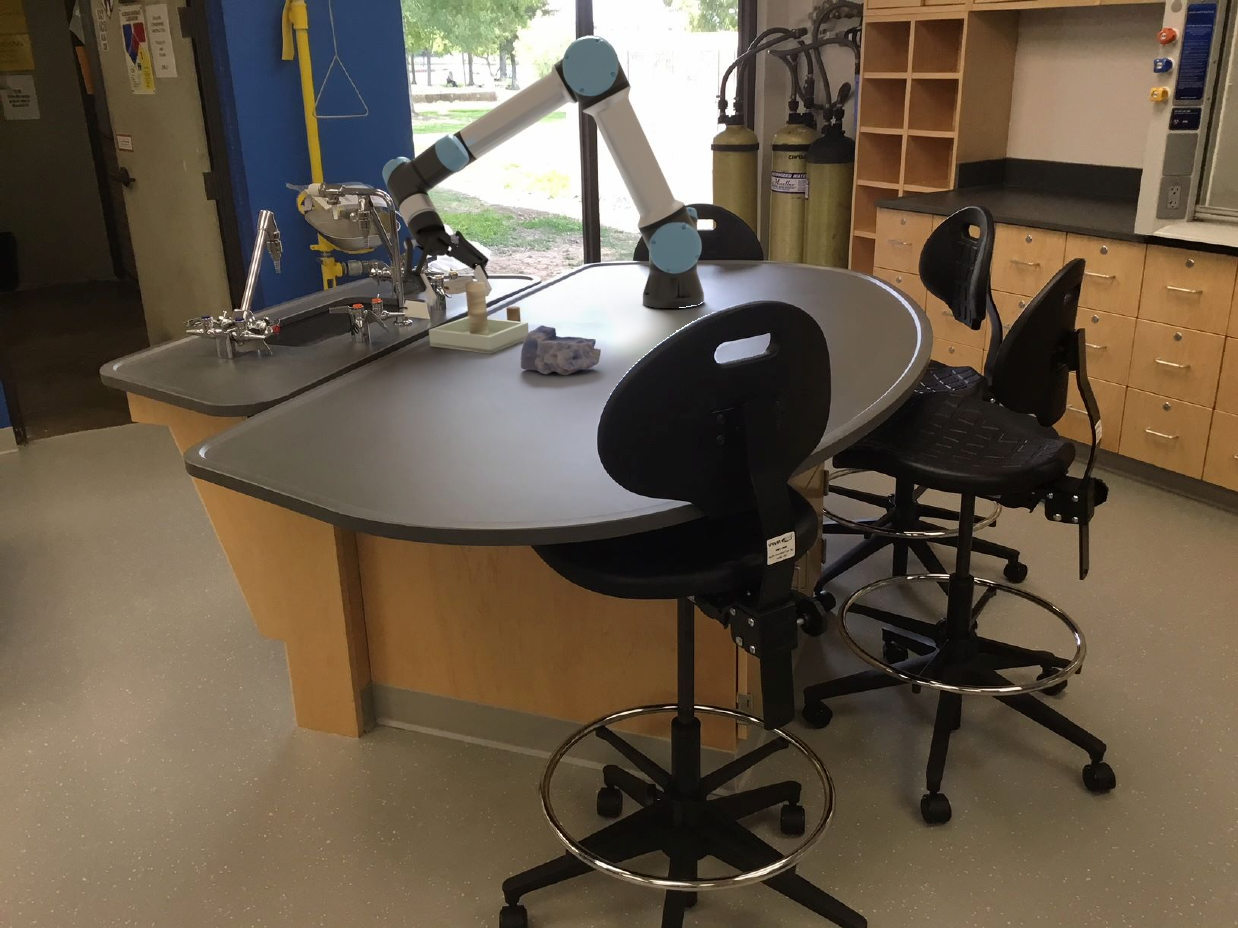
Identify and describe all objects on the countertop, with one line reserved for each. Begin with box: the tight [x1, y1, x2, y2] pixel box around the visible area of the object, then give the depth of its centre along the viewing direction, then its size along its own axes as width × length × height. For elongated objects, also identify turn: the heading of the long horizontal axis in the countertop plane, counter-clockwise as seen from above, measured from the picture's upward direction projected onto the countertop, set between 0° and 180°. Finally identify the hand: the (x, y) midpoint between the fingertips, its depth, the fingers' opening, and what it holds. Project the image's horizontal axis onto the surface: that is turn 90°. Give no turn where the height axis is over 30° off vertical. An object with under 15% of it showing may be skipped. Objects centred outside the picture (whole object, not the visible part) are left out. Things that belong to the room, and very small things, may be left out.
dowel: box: [464, 280, 489, 336], centre depth 216 cm, size 4×4×12 cm
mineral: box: [520, 324, 602, 376], centre depth 194 cm, size 14×10×10 cm
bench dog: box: [505, 305, 522, 322], centre depth 227 cm, size 3×3×5 cm
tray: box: [428, 316, 530, 355], centre depth 218 cm, size 16×14×4 cm
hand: (461, 297), depth 219 cm, fingers open, 13 cm apart
